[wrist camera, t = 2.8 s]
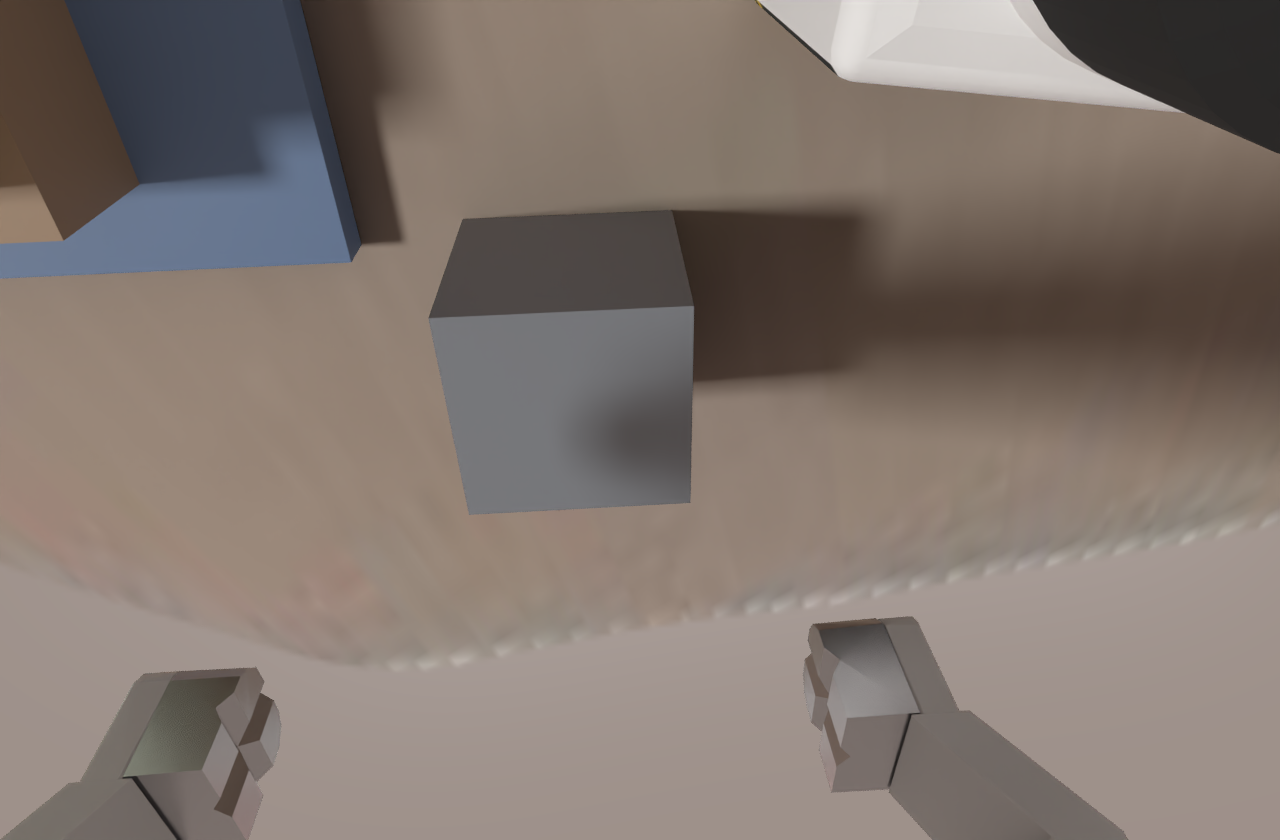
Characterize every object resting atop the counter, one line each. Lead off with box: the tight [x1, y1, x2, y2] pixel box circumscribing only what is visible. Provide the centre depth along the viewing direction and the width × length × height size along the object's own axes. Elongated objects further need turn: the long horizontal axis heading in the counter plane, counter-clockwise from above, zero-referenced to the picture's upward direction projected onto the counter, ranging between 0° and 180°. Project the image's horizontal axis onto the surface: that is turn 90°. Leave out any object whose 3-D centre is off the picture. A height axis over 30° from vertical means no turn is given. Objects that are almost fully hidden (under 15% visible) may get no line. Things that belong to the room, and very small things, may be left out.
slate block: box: [429, 210, 694, 515], centre depth 18 cm, size 5×5×5 cm
